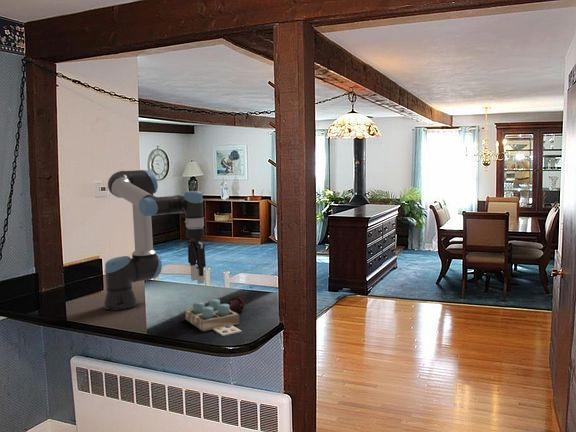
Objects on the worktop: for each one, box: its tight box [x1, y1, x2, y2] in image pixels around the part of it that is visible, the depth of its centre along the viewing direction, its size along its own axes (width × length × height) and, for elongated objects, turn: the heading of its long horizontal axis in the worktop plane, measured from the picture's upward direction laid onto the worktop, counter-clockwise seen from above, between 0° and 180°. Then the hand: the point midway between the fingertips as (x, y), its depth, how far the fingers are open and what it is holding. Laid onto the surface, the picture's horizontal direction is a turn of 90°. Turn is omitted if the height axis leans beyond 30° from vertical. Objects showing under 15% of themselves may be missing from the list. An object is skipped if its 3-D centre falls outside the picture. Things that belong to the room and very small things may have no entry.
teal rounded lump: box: [192, 301, 206, 314], centre depth 220 cm, size 5×5×5 cm
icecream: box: [228, 295, 246, 313], centre depth 232 cm, size 7×7×15 cm
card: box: [212, 324, 242, 337], centre depth 205 cm, size 10×8×1 cm
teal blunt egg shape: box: [208, 298, 221, 311], centre depth 223 cm, size 5×5×5 cm
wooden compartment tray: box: [184, 305, 240, 332], centre depth 218 cm, size 20×16×4 cm
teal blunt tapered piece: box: [218, 303, 231, 317], centre depth 215 cm, size 5×5×5 cm
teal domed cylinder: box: [202, 306, 214, 320], centre depth 211 cm, size 5×5×5 cm
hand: (197, 281), depth 219 cm, fingers open, 6 cm apart
